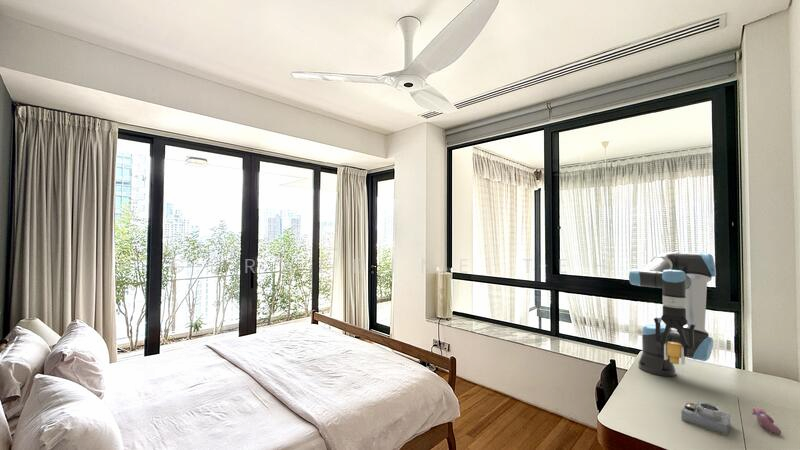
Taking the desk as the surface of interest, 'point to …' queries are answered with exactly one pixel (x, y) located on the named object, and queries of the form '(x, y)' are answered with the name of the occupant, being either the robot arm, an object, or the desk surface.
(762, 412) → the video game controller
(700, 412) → the box
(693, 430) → the desk surface
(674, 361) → the yellow capsule
